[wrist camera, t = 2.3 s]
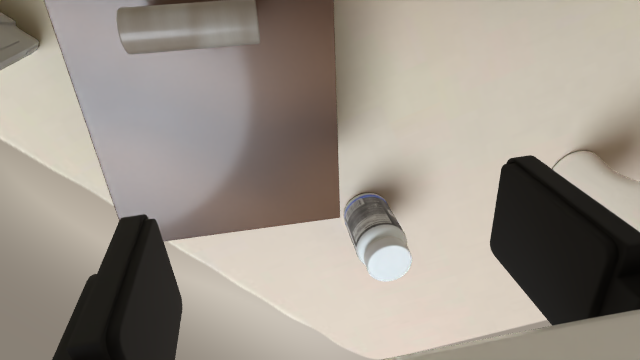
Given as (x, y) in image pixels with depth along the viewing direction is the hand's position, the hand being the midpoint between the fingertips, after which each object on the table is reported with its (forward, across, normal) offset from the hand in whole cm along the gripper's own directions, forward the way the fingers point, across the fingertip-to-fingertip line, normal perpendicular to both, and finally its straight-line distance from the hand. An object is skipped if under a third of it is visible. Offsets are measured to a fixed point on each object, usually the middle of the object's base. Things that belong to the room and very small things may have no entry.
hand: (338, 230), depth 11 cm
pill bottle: (+26, -7, +18) cm, 33 cm away
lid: (+16, +4, +2) cm, 17 cm away
